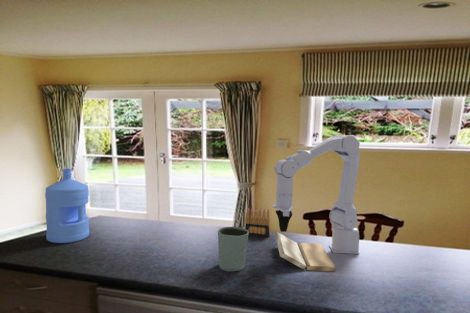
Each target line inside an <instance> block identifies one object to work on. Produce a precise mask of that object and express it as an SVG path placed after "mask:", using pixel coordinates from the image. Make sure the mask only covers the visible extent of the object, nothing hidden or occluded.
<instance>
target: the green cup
mask: <svg viewBox="0 0 470 313" xmlns="http://www.w3.org/2000/svg"><path fill="white" fill-rule="evenodd" d="M248 234H249V232H248V230H246V229H245V228H243V227H239V226H224V227H220V228H219V229H218V230H217V243H218V245H217V246H218V267H219V269H220V270H223V271H225V272H238V271H241V270H243V269H244V268H245V267H246V266H245V264H246V255H247V246H248V241H249V240H248V239H249V235H248Z"/></svg>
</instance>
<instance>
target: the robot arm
mask: <svg viewBox="0 0 470 313" xmlns="http://www.w3.org/2000/svg"><path fill="white" fill-rule="evenodd" d="M330 151H333V152H334V153H336V154H338V155H339V156H340V158H341V159H342V160H343V165H342V172H341V178H340V183H339V192H338V198H337V201H336V202H335V203H333V204H332V209H331V210H330V212H329V216H328V217H329V220H330V222H331V223H332V224H331V225H332V234H331V237H332V238H331V244H328V247H329V248H330V250H331V251H332V253H334V254H351V255H352V254H353V255H354V254H355V255H356V254H357V255H359V254H360V252H359V248H360V247H359V246H360V231H359V229H358V228H357V227H356V226H357V225H358V216H357V212H358V211H357V208H356V207H355V205H354V199H355V198H354V197H355V191H356V185H357V179H358V173H359V168H360V163H361V162H360V161H361V155H360V154H361V153H360V141H359V140H358V139H357V137H356V136H354V135H352V134H351V135H350V134H349V135H345V134H344V135H341V134H334V135H332V136H330V137H328V138H326V139H325V140H324V141H322V142H320V143H318V144H317V145H315V146H313V147H311V148H310V149H308V150H306V149H298V150H297V152H296V153H294V154H292V155H287V156H286V159H279V160H278V161H277V162H276V164H275V165H274V167H273V170H274V172H275V173H276V197H275V200H276V201H275V204H272V208H274V209H277V210H275V214H276V215H277V219H278V227H279V230H280V232H281V233H284V232H285V233H287V230H288V227H289V222H290V220H291V218H292V216H293V212H292V210H293V208H294V206H293V198H294V197H293V196H294V195H293V194H294V193H293V192H294V176H295V175H296V174H297V172H298V171H300V170H302V169H303V168H306V167H308V166H309V165H311V164H312V163H313V159H315V158H317V157H319V156H321V155H324V154H325V153H328V152H330Z"/></svg>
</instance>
